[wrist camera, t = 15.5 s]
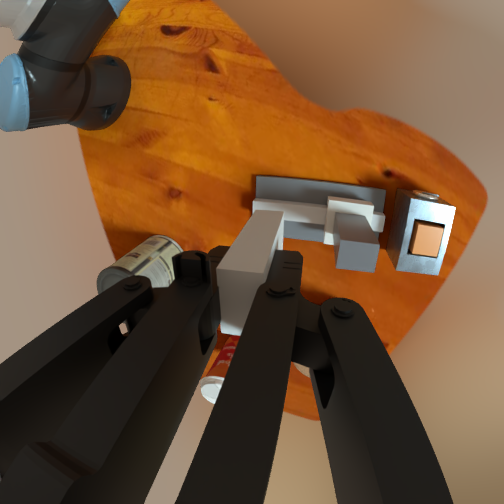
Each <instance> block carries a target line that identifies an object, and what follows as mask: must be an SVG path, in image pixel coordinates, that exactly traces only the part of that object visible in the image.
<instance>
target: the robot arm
mask: <svg viewBox="0 0 504 504" xmlns="http://www.w3.org/2000/svg"><path fill="white" fill-rule="evenodd" d="M129 1H130V0H0V27H8V28H10V29H11V31H12V33H13V36H14V39H15V40H20V41H23V43H22V45H21V47H20V49H19V51H18V53H17V54H15V53H13V54H11V55H9V56H7V57H5V59H4V60H3V62H2V63H1V64H0V129H1V130H3V131H6V132H10V131H25V130H27V129H32V128H38V127H44V126H52V125H60V124H70V125H73V126H76V127H78V128H81V129H84V130H90V131H91V130H101V129H104V128H106V127H108V126H110V125H111V124H113V123H114V122H115V121H116V120H117V119H118V117H119V116H120V115H121V113H122V112H123V110H124V108H125V106H126V104H127V101H128V98H129V95H130V89H131V76H130V71H129V69H128V67H127V65H126V63H125V62H124V61H123V60H122V59H120V58H118V57H115V56H110V55H99V56H95V57H90V58H89V56H90V55H91V53H92V52H93V50H94V49H95V47H96V46H97V44H98V43H99V41H100V40H101V38H102V37H103V36H104V34H105V33H106V31H107V30H108V29H109V27H110V26H111V25H112V23H113V22H114V21H115V19H118V17H119V16H120V13H121V11H122V10H123V9H124V7H125V6H126V5H127V3H128V2H129ZM283 231H284V211H272V210H257V209H256V210H255V212H254V213H253V215H252V216H251V217H250V219H249V220H248V222H247V223H246V225H245V226H244V228H243V229H242V231H241V232H240V234H239V235H238V237H237V238H236V240H235V241H234V243H233V244H232V245H231V247H230V246H217V247H215V248H213V249H211V250H210V251H209V253H208V254H207V253H205V252H202V251H184V252H181V253H178V254H176V255H174V256H173V257H172V264H173V271H174V278H175V279H174V280H173V282H172V283H171V284H170V285H169V286H168V287H153V288H152V284H151V281H150V279H149V278H148V277H146V276H141V275H132V276H130V277H126V278H124V279H122V280H120V281H119V282H117V283H116V284H114V285H113V286H111V287H110V288H108V289H106V290H105V291H103V292H102V293H100V294H99V295H97V296H96V297H94V298H93V299H91V300H90V301H88V302H87V303H85V304H84V305H82V306H81V307H79V308H78V309H76V310H75V311H74V312H72V313H71V314H69V315H67V316H66V317H65V318H63V319H62V320H60V321H59V322H57V323H56V324H54V325H53V326H52V327H50V328H49V329H47V330H46V331H45V332H43V333H42V334H40V335H39V336H38V337H36V338H35V339H34V340H32V341H31V342H29V343H28V344H26V345H25V346H24V347H22V348H21V349H20V350H18V351H17V352H16V353H14V354H13V355H12V356H10V357H9V358H8V359H6V360H5V361H4V362H3V363H1V364H0V504H144V502H145V499H146V497H147V495H148V493H149V490H150V488H151V486H152V484H153V482H154V480H155V478H156V475H157V473H158V471H159V469H160V466H161V464H162V462H163V460H164V458H165V456H166V453H167V451H168V449H169V447H170V445H171V443H172V440H173V438H174V436H175V434H176V432H177V429H178V427H179V424H180V423H181V421H182V418H183V416H184V414H185V412H186V409H187V407H188V405H189V403H190V401H191V398H192V396H193V394H194V391H195V389H196V387H197V385H198V383H199V380H200V378H201V376H202V374H203V372H204V370H205V367H206V365H207V363H208V361H209V358H210V356H211V354H212V352H213V349H214V347H215V345H216V343H217V328H218V326H219V324H220V323H221V333H225V334H232V335H238V336H240V338H239V341H238V343H237V346H236V349H235V352H234V354H233V357H232V360H231V362H230V365H229V368H228V370H227V373H226V376H225V378H224V381H223V383H222V386H221V389H220V391H219V394H218V397H217V399H216V402H215V404H214V407H213V410H212V412H211V415H210V417H209V420H208V423H207V425H206V428H205V430H204V433H203V435H202V438H201V440H200V443H199V446H198V448H197V451H196V453H195V455H194V458H193V461H192V463H191V465H190V468H189V470H188V473H187V476H186V478H185V481H184V483H183V485H182V488H181V490H180V493H179V496H178V497H177V500H176V502H175V504H263V503H264V499H265V495H266V491H267V487H268V482H269V477H270V473H271V469H272V464H273V460H274V455H275V450H276V445H277V440H278V435H279V430H280V424H281V419H282V413H283V408H284V402H285V396H286V390H287V384H288V378H289V372H290V366H291V361H292V362H295V363H297V364H300V365H303V366H306V367H308V368H309V373H310V378H311V382H312V386H313V390H314V395H315V399H316V403H317V408H318V412H319V417H320V421H321V425H322V430H323V435H324V439H325V444H326V448H327V453H328V458H329V463H330V468H331V473H332V477H333V483H334V488H335V493H336V498H337V503H338V504H453V501H452V498H451V495H450V492H449V489H448V486H447V484H446V481H445V478H444V476H443V473H442V470H441V467H440V465H439V463H438V460H437V457H436V455H435V452H434V450H433V448H432V445H431V443H430V440H429V438H428V436H427V434H426V431H425V429H424V427H423V424H422V422H421V420H420V418H419V416H418V413H417V411H416V409H415V407H414V405H413V403H412V400H411V399H410V396H409V394H408V392H407V390H406V388H405V386H404V384H403V382H402V380H401V378H400V376H399V374H398V372H397V370H396V368H395V366H394V364H393V362H392V360H391V358H390V357H389V355H388V353H387V351H386V349H385V347H384V345H383V343H382V342H381V340H380V338H379V336H378V334H377V332H376V331H375V329H374V327H373V325H372V323H371V322H370V320H369V318H368V316H367V315H366V313H365V311H364V309H363V308H362V307H361V306H360V305H359V304H358V303H356V302H355V301H353V300H350V299H347V298H332V299H328V300H326V301H325V302H323V304H322V305H321V306H320V305H317V304H314V303H311V302H309V301H308V300H306V299H305V298H304V297H303V296H302V294H301V293H300V286H301V276H302V265H303V256H302V255H301V254H300V252H298V251H287V250H283ZM124 321H125V324H126V327H127V330H128V332H127V333H125V334H122V333H121V331H120V328H119V325H120V324H121V323H122V322H124Z"/></svg>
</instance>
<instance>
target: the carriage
mask: <svg viewBox="0 0 504 504" xmlns="http://www.w3.org/2000/svg"><path fill="white" fill-rule="evenodd" d="M373 210H374V205H373V204H372V203H371V202H369V201H363V200H355V199H348V198H340V197H332V196H328V199H327V214H326V223H325V226H324V244H331V245H334V252H335V263H336V268H340V269H348V270H357V271H365V272H373V273H374V270H375V266H376V262H377V257H378V252H379V248H380V244H379V242H378V240H377V238H376V236H375V234H374V232H373V230H372V228H371V222H372V216H373Z"/></svg>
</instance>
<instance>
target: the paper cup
mask: <svg viewBox="0 0 504 504" xmlns="http://www.w3.org/2000/svg"><path fill="white" fill-rule="evenodd" d="M239 338H240V336H238V335H232V336H230V337H229V338H228V340H227V341H226V343H225V345H224V346H223V348H222V350H221V351H220V353H219V355H218V357H217V358H216V360H215V362H214V363H213V365H212V367H211V369H210V370H209V372H208V374H207V375H206V377H203V378H202V379H201V381H200V384H201V392H202V395H203V396H204V397H205V398H206V399H207V400H208V401H210V402H211V403H214V404H215V402H216V399H217V397H218V394H219V391H220V389H221V386H222V383H223V381H224V378H225V376H226V373H227V370H228V368H229V365H230V362H231V360H232V357H233V354H234V352H235V349H236V346H237V343H238V341H239Z"/></svg>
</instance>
